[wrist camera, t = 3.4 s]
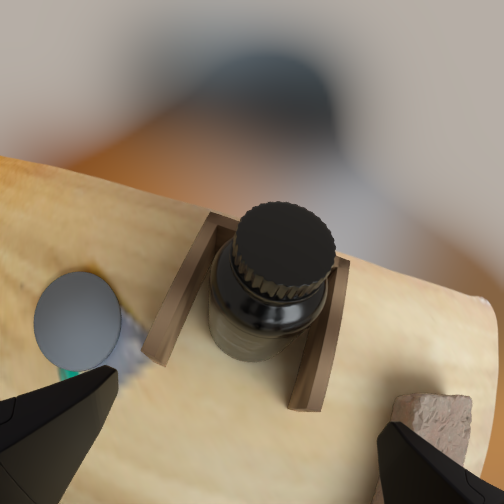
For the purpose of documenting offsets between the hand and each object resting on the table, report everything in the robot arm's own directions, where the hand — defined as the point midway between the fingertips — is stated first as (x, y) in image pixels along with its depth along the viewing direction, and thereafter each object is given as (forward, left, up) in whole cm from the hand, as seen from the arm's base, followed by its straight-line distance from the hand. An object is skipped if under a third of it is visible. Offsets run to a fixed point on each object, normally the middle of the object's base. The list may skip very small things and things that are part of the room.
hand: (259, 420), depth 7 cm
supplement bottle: (+6, +5, -13) cm, 15 cm away
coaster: (-7, +13, -13) cm, 20 cm away
